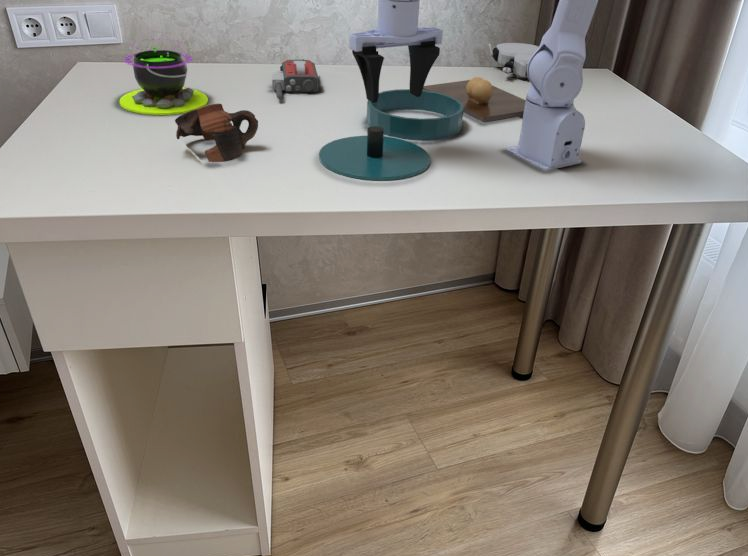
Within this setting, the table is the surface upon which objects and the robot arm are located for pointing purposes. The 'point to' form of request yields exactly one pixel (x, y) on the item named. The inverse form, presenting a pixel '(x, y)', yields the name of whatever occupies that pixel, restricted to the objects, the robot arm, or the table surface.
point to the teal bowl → (416, 126)
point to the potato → (479, 90)
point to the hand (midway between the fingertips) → (394, 97)
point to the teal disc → (374, 157)
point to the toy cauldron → (161, 84)
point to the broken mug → (218, 130)
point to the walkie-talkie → (295, 77)
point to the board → (495, 109)
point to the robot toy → (514, 57)
